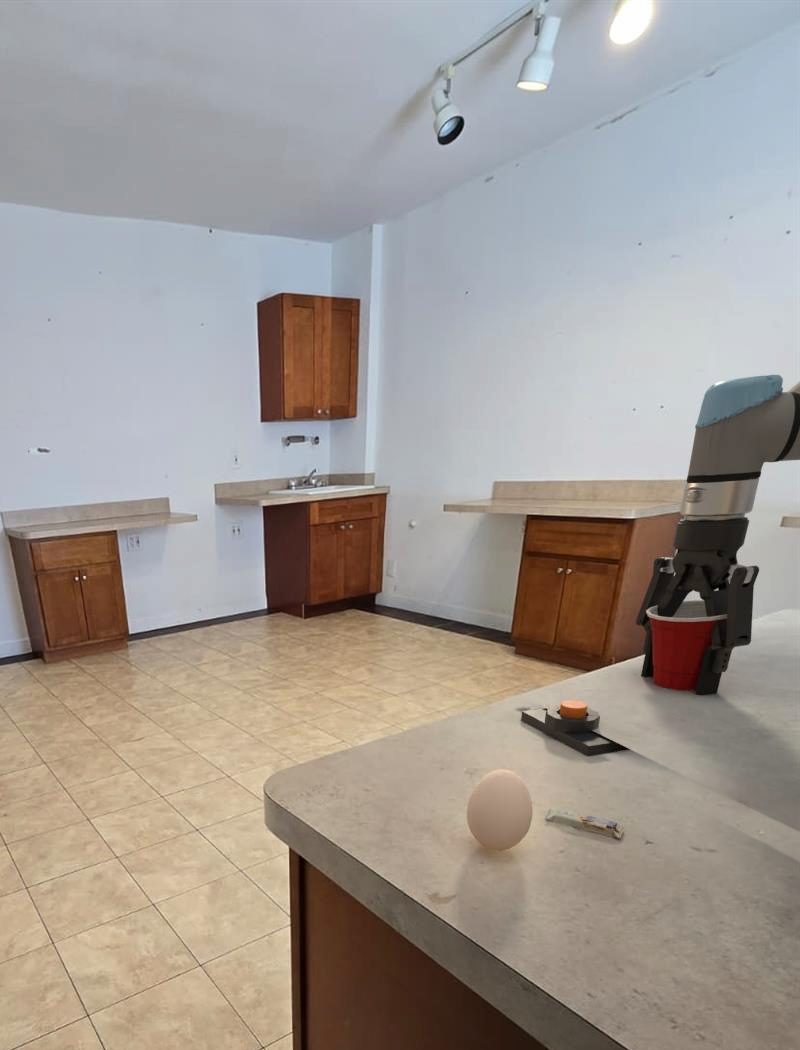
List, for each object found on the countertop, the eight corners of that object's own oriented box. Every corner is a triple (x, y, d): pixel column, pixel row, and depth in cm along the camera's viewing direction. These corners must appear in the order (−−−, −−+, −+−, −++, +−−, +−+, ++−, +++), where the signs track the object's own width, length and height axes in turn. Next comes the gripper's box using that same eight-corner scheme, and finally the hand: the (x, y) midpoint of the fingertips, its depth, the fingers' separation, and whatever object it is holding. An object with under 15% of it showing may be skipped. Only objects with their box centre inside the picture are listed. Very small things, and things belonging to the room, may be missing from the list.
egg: (538, 860, 57) (551, 781, 54) (479, 866, 57) (488, 787, 54) (509, 829, 62) (519, 755, 59) (454, 835, 62) (461, 761, 59)
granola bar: (542, 822, 63) (544, 813, 63) (549, 813, 65) (550, 804, 64) (619, 842, 59) (621, 832, 59) (624, 832, 61) (627, 822, 60)
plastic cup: (620, 679, 98) (635, 600, 93) (701, 678, 95) (720, 596, 90) (648, 702, 88) (665, 616, 83) (738, 701, 86) (761, 612, 81)
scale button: (574, 710, 82) (576, 699, 82) (591, 718, 79) (593, 706, 79) (553, 713, 82) (555, 702, 81) (569, 721, 79) (571, 709, 78)
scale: (636, 704, 90) (641, 683, 89) (718, 736, 78) (724, 713, 77) (517, 721, 87) (520, 700, 86) (583, 757, 75) (587, 734, 74)
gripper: (624, 516, 91) (599, 669, 101) (768, 523, 72) (721, 711, 81) (670, 511, 92) (641, 662, 102) (825, 516, 73) (771, 703, 82)
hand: (676, 684), depth 91 cm, fingers closed on plastic cup, 9 cm apart
